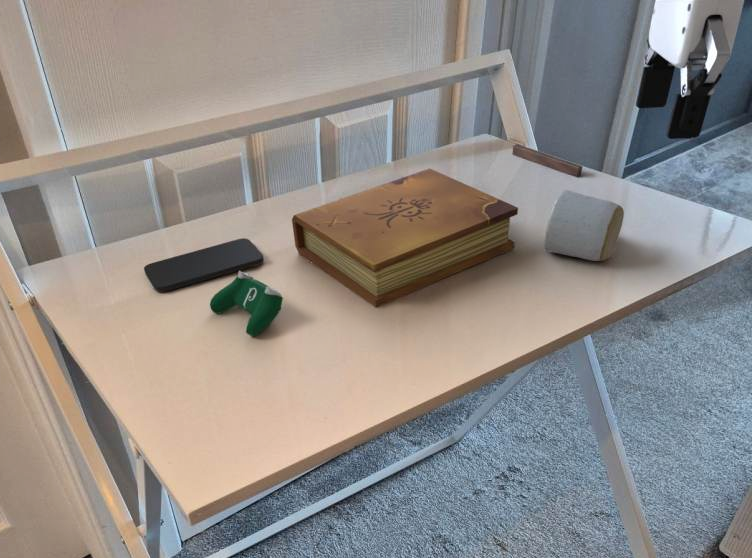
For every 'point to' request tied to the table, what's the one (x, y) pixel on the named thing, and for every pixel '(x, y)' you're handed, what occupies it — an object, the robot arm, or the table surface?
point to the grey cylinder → (583, 226)
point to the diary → (403, 234)
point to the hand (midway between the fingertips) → (665, 121)
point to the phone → (202, 264)
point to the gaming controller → (249, 301)
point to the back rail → (547, 160)
